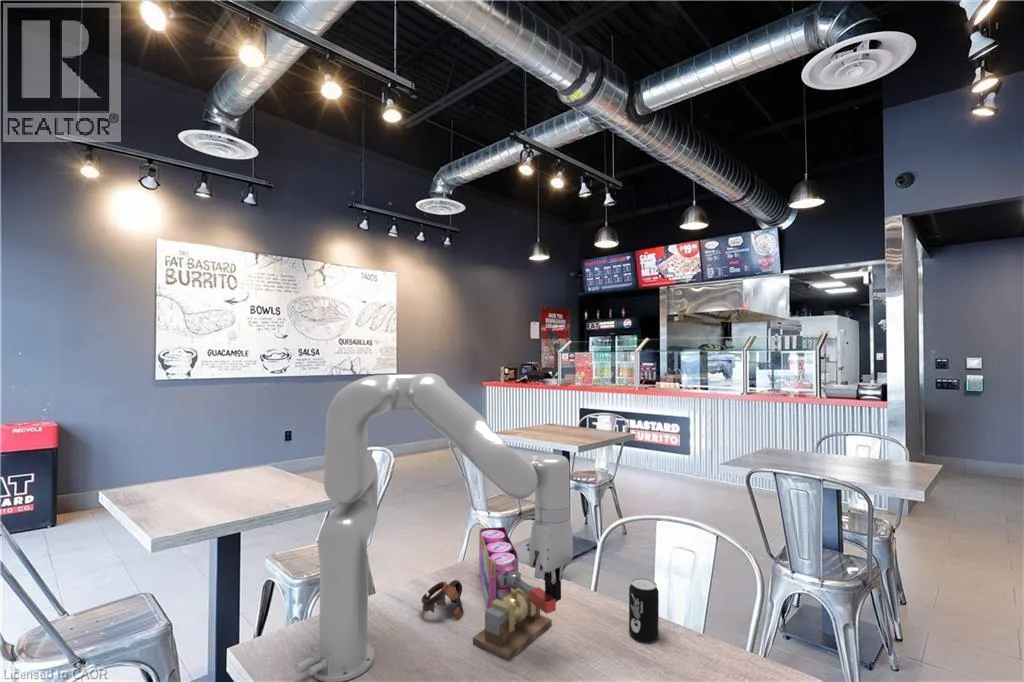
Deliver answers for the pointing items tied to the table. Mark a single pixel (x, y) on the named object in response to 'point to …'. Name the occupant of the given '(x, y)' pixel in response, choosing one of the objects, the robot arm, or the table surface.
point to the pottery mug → (450, 590)
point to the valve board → (513, 636)
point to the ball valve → (509, 611)
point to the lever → (532, 593)
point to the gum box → (495, 563)
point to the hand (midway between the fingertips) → (553, 598)
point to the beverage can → (643, 610)
